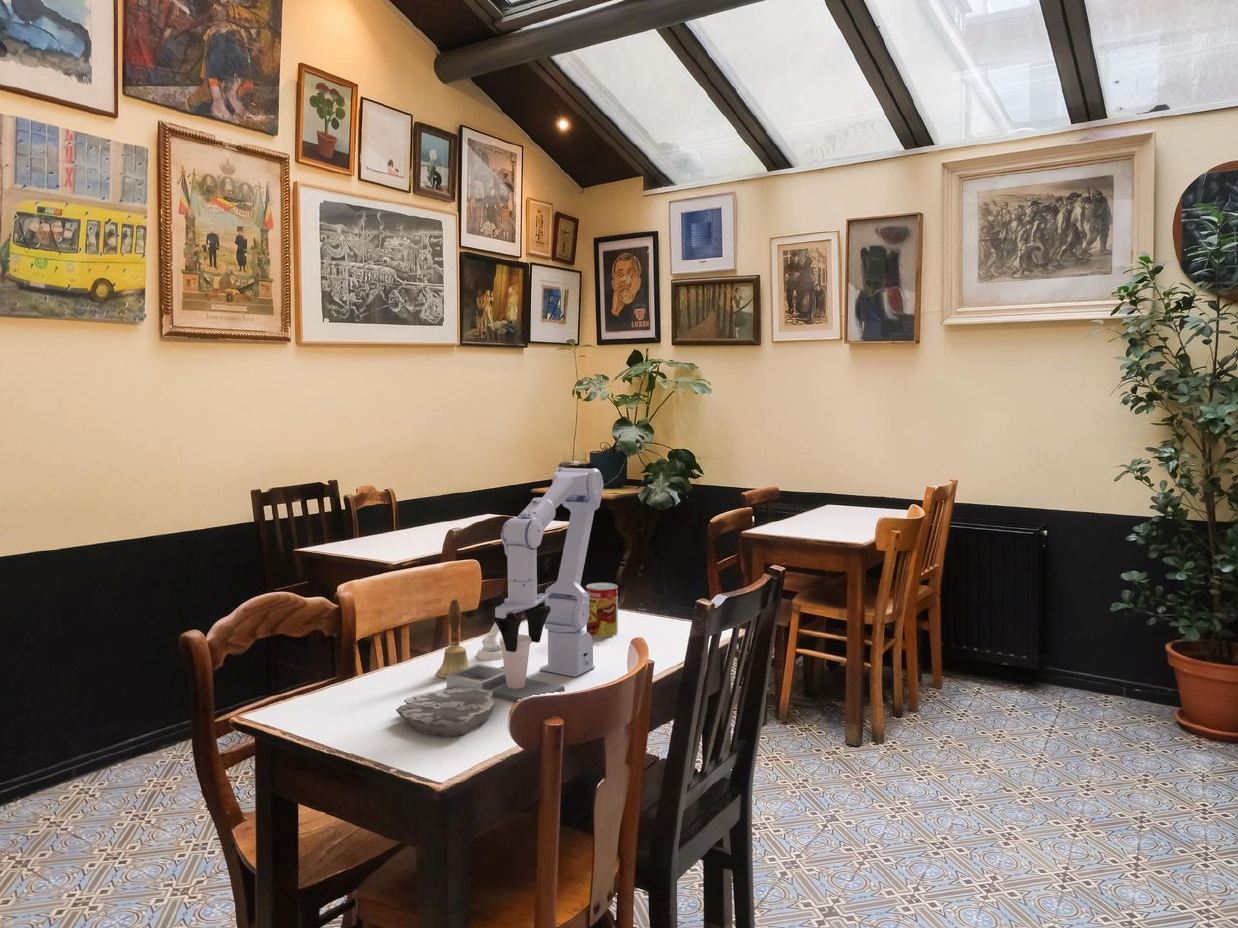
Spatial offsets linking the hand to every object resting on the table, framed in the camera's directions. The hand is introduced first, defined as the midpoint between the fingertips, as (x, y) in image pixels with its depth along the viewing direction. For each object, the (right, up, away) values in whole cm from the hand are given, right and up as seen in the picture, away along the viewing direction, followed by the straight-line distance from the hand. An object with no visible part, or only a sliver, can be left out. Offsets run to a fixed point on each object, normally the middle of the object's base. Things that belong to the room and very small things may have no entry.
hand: (523, 646), depth 173 cm
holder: (-9, -9, +7) cm, 14 cm away
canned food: (+15, -6, +45) cm, 48 cm away
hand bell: (-16, -9, +13) cm, 22 cm away
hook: (-10, -8, +27) cm, 29 cm away
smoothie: (-2, -9, +2) cm, 9 cm away
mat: (+1, -9, 0) cm, 9 cm away
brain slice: (-13, -11, -14) cm, 22 cm away
